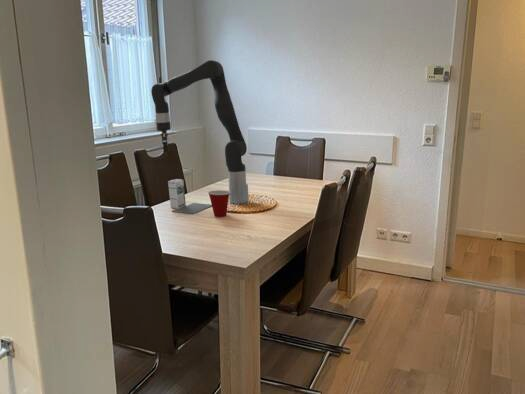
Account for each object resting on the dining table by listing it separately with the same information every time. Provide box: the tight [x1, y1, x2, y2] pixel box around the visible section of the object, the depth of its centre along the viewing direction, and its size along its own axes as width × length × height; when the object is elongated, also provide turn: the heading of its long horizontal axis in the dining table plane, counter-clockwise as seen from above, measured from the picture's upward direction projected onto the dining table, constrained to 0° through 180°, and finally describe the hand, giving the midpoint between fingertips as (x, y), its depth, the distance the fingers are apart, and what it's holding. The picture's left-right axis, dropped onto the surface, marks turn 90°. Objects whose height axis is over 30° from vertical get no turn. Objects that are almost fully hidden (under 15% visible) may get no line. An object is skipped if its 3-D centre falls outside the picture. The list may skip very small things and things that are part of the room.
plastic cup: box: [207, 190, 231, 218], centre depth 232 cm, size 11×11×12 cm
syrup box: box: [167, 178, 187, 209], centre depth 251 cm, size 6×6×14 cm
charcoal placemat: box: [172, 202, 212, 215], centre depth 248 cm, size 13×18×1 cm
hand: (166, 151), depth 263 cm, fingers open, 8 cm apart
